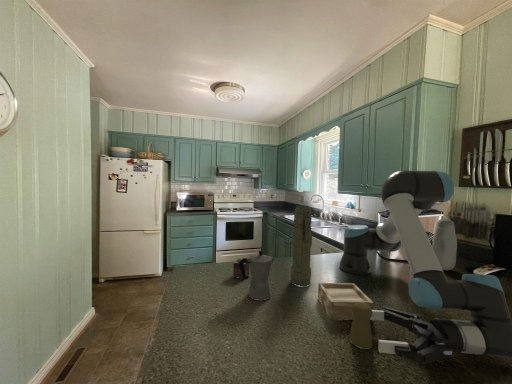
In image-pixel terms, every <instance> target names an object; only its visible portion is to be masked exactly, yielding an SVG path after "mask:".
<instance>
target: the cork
mask: <svg viewBox="0 0 512 384" xmlns="http://www.w3.org/2000/svg"><path fill="white" fill-rule="evenodd" d="M352 312H353V314H354V316H353V321H352V322H351V327H350V332H349V337H350V340H351V341H352V343H354V344H355V345H357V346H359V347H362V348H370V347H372V346H373V338H372V329H371V328H372V327H371V321H370V318H371V317H372V309H371V307H370V306H369V305H367V304H366V303H363V302H355V303H354V304H353V306H352ZM349 337H348V338H349ZM372 348H373V347H372Z"/></svg>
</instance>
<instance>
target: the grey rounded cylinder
mask: <svg viewBox="0 0 512 384" xmlns="http://www.w3.org/2000/svg"><path fill="white" fill-rule="evenodd" d="M431 245H432V248H433V250H434V252H435V254H436V256H437V259H438V261H439V263H440V265H441V267H442V270H443V271H447V272H448V271H451V270H453V269H454V268H455V266H456V264H457V263H456V262H457V251H458V250H457V249H458V239H457V235H456V226H455V223H454V221H453V220H452V219H448V218H440V219H438V221H437V222H436V227H435V231H434V234H433V238H432V244H431Z"/></svg>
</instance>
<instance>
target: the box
mask: <svg viewBox="0 0 512 384" xmlns="http://www.w3.org/2000/svg"><path fill="white" fill-rule="evenodd" d="M242 259H243V258H241V259H240V258H238V259H236V260H235V261H234V262H233V272H232V273H233V275H232V276H234V277H239V278H243V277H242V273H241V270H240V267H239V262H240V261H241V260H242ZM243 266H244V271H245V276H248V275H249V276H250V263H244V264H243Z"/></svg>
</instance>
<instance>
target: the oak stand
mask: <svg viewBox="0 0 512 384" xmlns="http://www.w3.org/2000/svg"><path fill="white" fill-rule="evenodd" d="M317 290H318V291H317V299H318V298H319V299H318V301H319V300H320V301H321V303H322V304H321V303H320V304H321V306H322V305H323V306H322V308H323V307H324V308H325V310H326V311H325V310H324V311H325V313H326V312H327V313H326V314H328V315H329V317H330V318H329V317H328V318H329V320H330V319H349V320H353V316H354V314H353V312H352V306H353V304H354V303H355V302H363V303H366V304H367V305H369V306H370V307H371V309H372V310H374V302H373V300H372V299H370V298H369V297H368V295H366V293H364V292H363V291H362V290H361V289H360V288H359V287H358V286H357V285H356V283H352V282H350V283H349V282H347V283H345V282H318V287H317ZM320 301H319V302H320ZM324 308H323V309H324ZM328 315H327V316H328Z"/></svg>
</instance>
